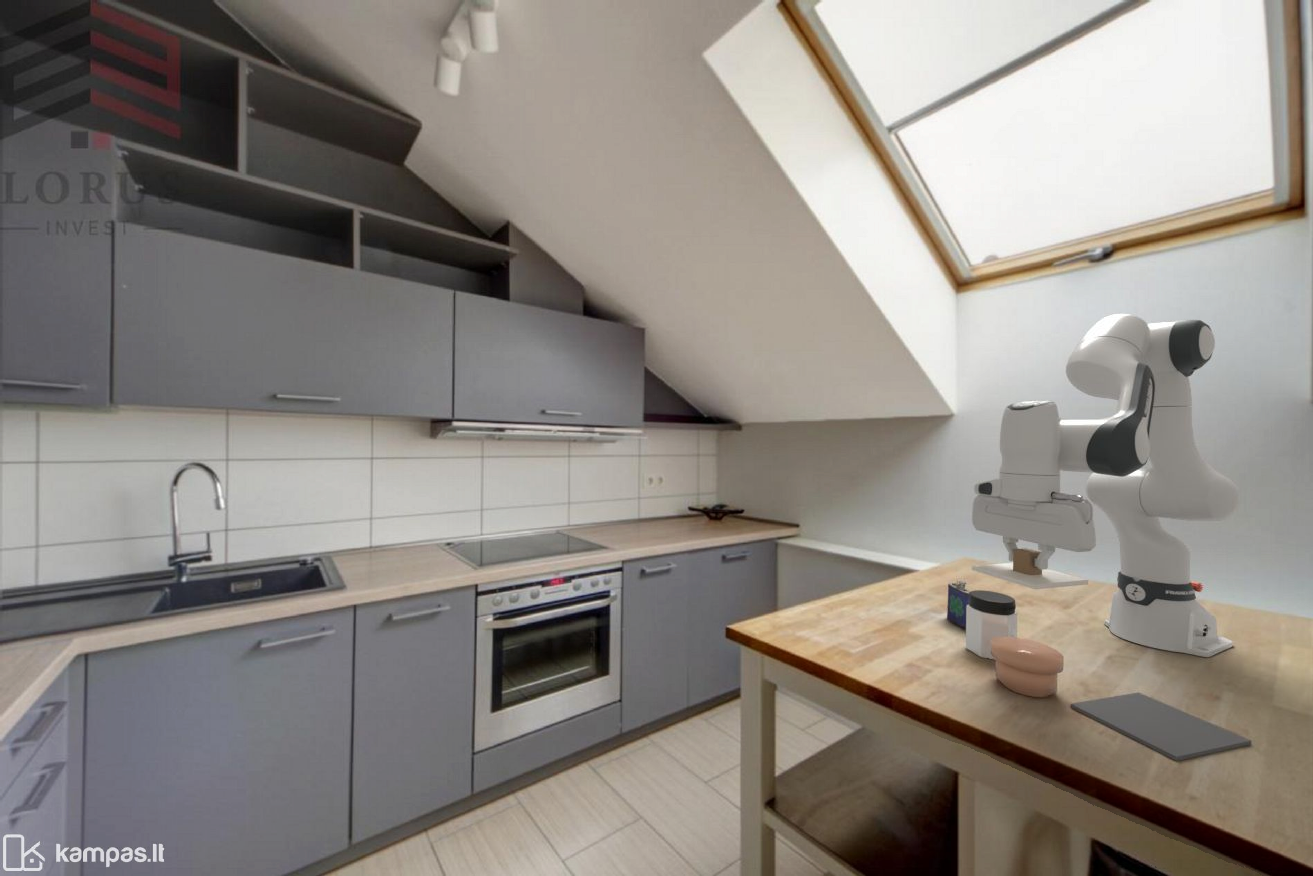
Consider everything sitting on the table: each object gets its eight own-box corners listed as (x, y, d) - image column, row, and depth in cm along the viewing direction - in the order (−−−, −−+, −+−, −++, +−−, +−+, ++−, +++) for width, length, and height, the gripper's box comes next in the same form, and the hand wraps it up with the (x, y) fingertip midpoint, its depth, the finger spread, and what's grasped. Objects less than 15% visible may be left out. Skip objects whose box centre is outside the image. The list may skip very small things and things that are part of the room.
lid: (1020, 566, 96) (1021, 541, 96) (1088, 584, 85) (1088, 556, 85) (971, 569, 93) (972, 544, 93) (1034, 589, 82) (1035, 560, 82)
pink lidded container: (1019, 670, 96) (1020, 634, 96) (1078, 698, 85) (1079, 659, 85) (976, 676, 93) (976, 639, 93) (1031, 706, 83) (1032, 665, 83)
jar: (1003, 665, 98) (1004, 605, 98) (959, 650, 104) (960, 594, 104) (1022, 655, 103) (1023, 598, 102) (979, 641, 109) (980, 587, 109)
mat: (1138, 695, 87) (1138, 692, 87) (1251, 744, 73) (1251, 740, 73) (1070, 707, 83) (1070, 703, 83) (1176, 761, 69) (1176, 756, 69)
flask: (980, 632, 114) (980, 586, 114) (967, 632, 114) (968, 586, 114) (954, 617, 123) (954, 575, 123) (942, 618, 123) (943, 575, 123)
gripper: (1106, 496, 80) (1105, 580, 80) (991, 483, 99) (990, 551, 100) (1077, 497, 78) (1076, 583, 78) (966, 484, 98) (965, 553, 98)
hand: (1027, 565), depth 89 cm, fingers closed on lid, 3 cm apart
